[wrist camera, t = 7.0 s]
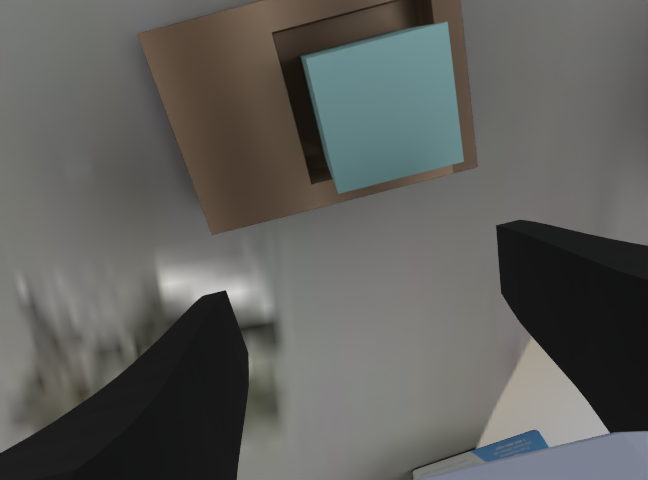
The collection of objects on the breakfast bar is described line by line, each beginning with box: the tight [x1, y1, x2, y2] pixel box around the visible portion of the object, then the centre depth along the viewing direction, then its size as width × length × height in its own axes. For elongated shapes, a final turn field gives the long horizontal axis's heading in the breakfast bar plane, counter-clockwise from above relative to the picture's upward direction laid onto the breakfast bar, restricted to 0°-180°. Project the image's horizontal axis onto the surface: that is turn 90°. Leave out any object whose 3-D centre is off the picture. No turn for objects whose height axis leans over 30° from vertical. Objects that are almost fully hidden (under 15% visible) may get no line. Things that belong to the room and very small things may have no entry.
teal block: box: [300, 22, 464, 194], centre depth 16 cm, size 4×4×6 cm
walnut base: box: [137, 0, 478, 235], centre depth 18 cm, size 11×8×3 cm
